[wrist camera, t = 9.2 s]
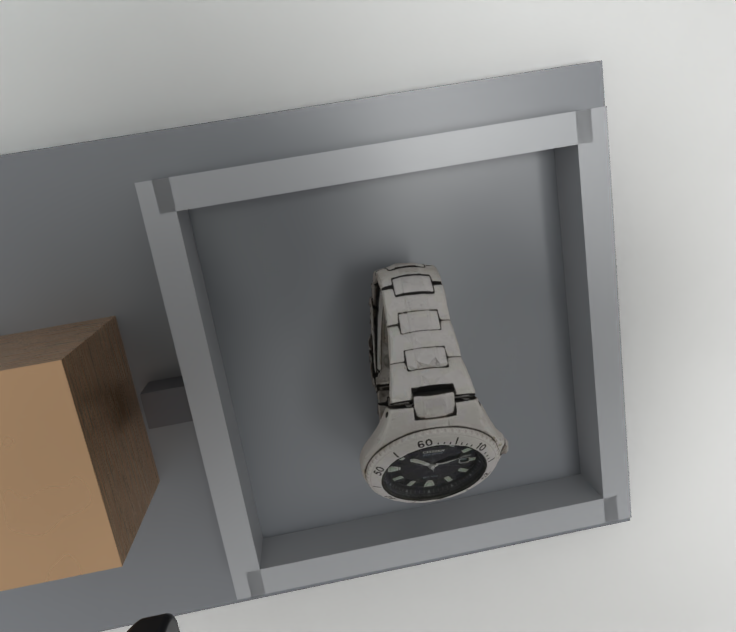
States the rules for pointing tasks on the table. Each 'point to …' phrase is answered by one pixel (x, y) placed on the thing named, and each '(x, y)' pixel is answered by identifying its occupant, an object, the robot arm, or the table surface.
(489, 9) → the table surface
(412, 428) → the wristwatch
